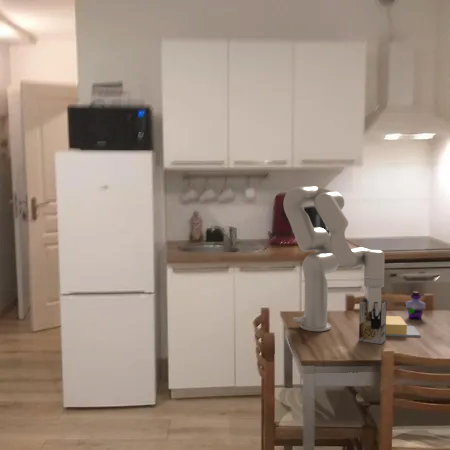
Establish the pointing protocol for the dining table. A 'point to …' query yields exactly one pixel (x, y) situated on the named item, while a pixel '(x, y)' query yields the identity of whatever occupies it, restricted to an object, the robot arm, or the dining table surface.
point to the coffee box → (365, 324)
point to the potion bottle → (415, 306)
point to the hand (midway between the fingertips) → (373, 325)
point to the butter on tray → (399, 327)
